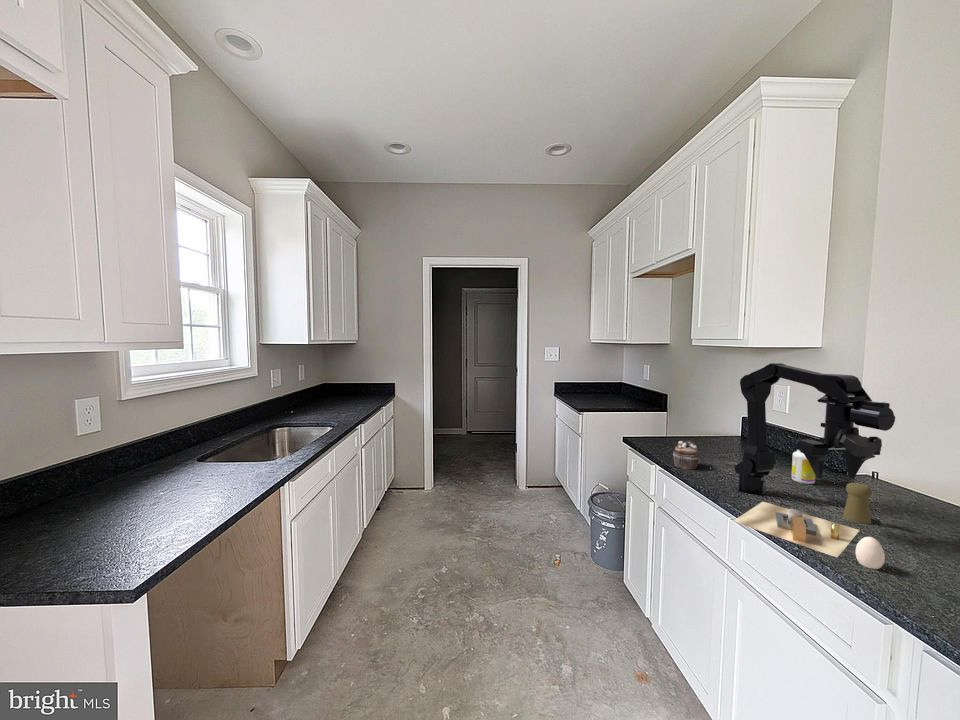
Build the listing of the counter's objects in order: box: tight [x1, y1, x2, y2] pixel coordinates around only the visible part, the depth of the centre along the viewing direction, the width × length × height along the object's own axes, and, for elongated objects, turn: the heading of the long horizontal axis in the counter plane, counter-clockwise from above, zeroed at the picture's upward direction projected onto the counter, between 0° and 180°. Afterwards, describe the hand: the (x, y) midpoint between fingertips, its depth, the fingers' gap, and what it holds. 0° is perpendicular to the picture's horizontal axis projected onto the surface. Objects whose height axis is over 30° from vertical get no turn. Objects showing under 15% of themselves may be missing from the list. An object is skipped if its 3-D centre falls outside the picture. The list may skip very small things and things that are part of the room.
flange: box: [775, 512, 817, 543], centre depth 104 cm, size 14×8×4 cm, turn 146°
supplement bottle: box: [791, 449, 816, 485], centre depth 142 cm, size 7×7×13 cm
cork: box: [842, 482, 873, 525], centre depth 110 cm, size 6×6×11 cm
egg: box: [855, 536, 886, 570], centre depth 88 cm, size 5×5×7 cm
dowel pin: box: [830, 522, 840, 540], centre depth 100 cm, size 2×2×4 cm
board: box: [732, 501, 860, 558], centre depth 107 cm, size 22×22×5 cm
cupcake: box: [672, 439, 701, 470], centre depth 158 cm, size 10×10×10 cm
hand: (835, 478), depth 107 cm, fingers open, 9 cm apart
